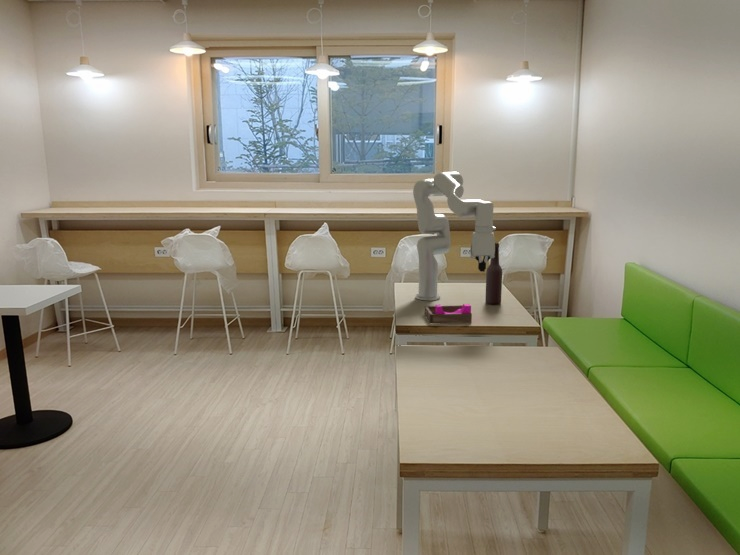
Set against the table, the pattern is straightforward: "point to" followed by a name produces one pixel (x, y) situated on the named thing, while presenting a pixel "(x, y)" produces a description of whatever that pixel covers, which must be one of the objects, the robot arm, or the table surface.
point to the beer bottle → (494, 280)
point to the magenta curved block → (465, 309)
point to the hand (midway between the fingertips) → (481, 270)
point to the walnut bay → (447, 315)
